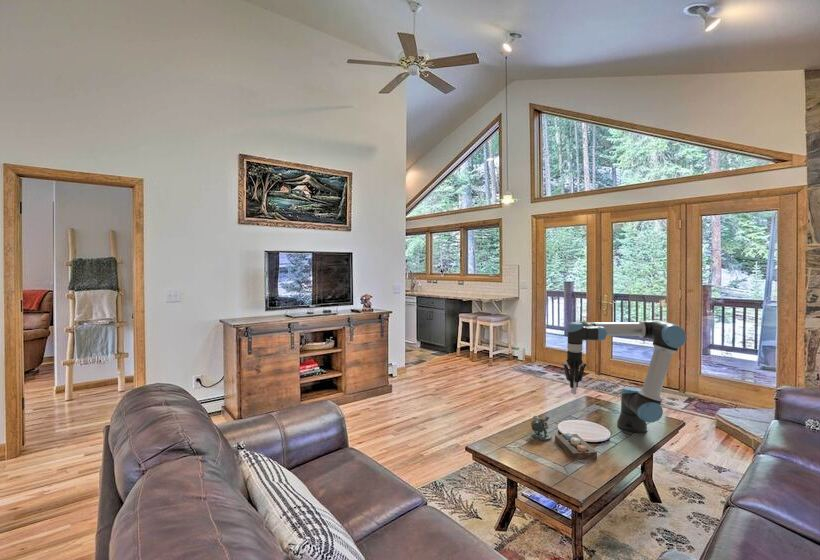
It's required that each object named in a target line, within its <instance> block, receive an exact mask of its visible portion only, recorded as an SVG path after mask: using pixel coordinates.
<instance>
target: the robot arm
mask: <svg viewBox="0 0 820 560" xmlns="http://www.w3.org/2000/svg"><path fill="white" fill-rule="evenodd" d="M608 336H611V337H613V336H614V337H615V336H617V337H620V336H621V337H638V338H639V339H640V338H641V339H649V340H653V342H652V345H653V347H654V348H653V349H654V350H653V353H652V357H651V359H650V361H649V366H648V369H647V371H646V376H645V379H644V382H643V385H642V387H635V386H633V387H632V386H626V387H622V388H621V393H620V394H621V396H620V398H621V399H620V413H619V416H618V419H617V422H616V426H617V427H618V428H620V429H621V430H624V431H626V432H628V433H629V432H630V433H635V434H642V433H646V432H647V431H648V425H647V423H655V422H658V421H660V419H662V418H663V417H662V416H664V410H663V408H662V406H661V404H662V400H663V399H662V398H661V393H662V391H663V390H662V389H663V386H664V384H665V380H666V377H667V375H668V374H667V373H668V370H669V367H670V363H671V361H672V358H673V355H674V354H675V353H677V352H678V350H679V348H681V347H682V346H683V345H685V343H686V341H687V334H686V331H685V330H684V329H683V328H682V326H679V325H677V324H675V323H670V322H667V321H664V320H660V319H659V320H658V319H657V320H655V319H654V320H653V319H652V320H639V321H637V322H605V321H603V322H596V321H595V322H590V321H584V320H581V321H578V322H576V321H573V322H569V323H568V324H567V344H566V345H567V347H566V350H567V352H566V353H567V354H566V361H565V363H563V362H562V363H561V365H562V366H563V370H564V374H565V378H566V381H568V382H569V387H570V393H571V394H573V395H577V388H578V387H579V383H580V382H581V381H582V379H583V375H584V372H585V368H586V367H587V363H585V362H583V359H582V358H583V352H582V351H583V342H584V341H598V342H599V341H605V340H606V338H607V337H608Z"/></svg>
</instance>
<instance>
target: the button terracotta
mask: <svg viewBox="0 0 820 560" xmlns="http://www.w3.org/2000/svg"><path fill="white" fill-rule="evenodd" d="M586 449H587V447H586V446H584V445H577V451H579V452H586Z"/></svg>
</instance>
